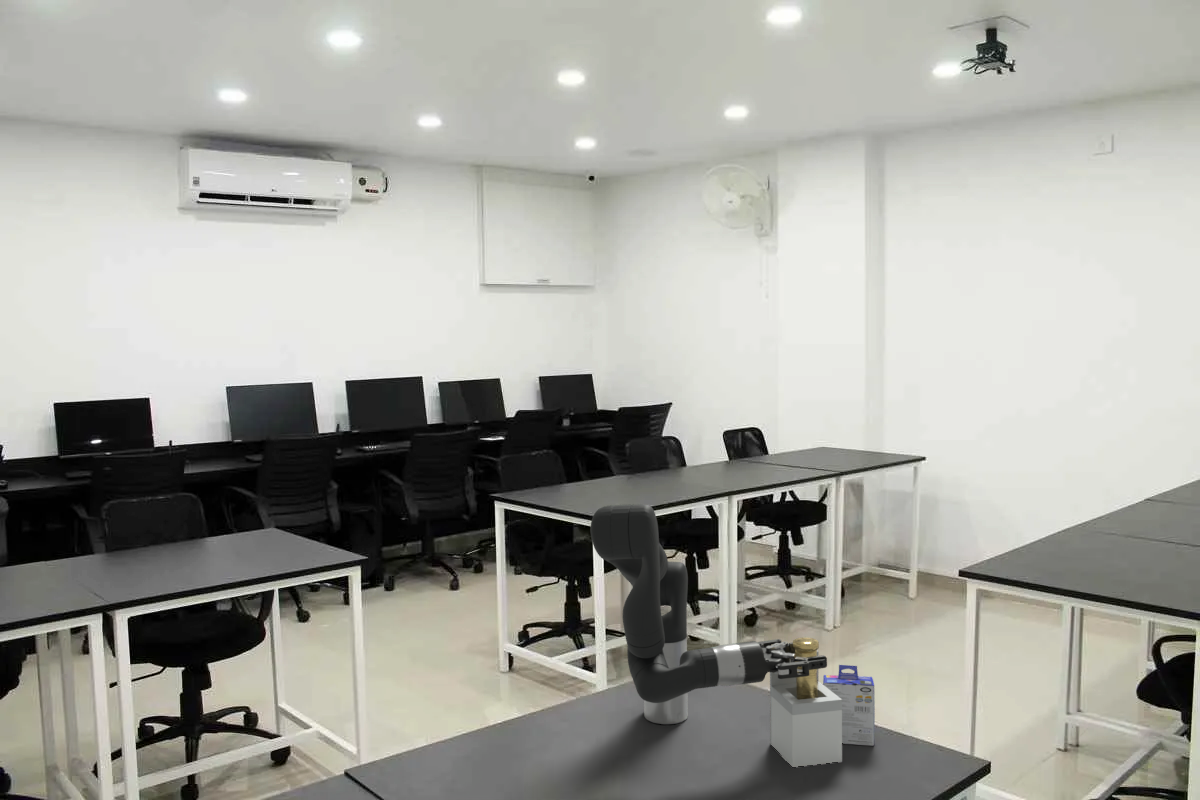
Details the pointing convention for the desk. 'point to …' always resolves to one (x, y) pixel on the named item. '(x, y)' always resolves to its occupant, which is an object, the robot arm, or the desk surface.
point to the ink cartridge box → (854, 705)
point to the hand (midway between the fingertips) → (816, 653)
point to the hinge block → (805, 724)
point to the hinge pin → (809, 684)
